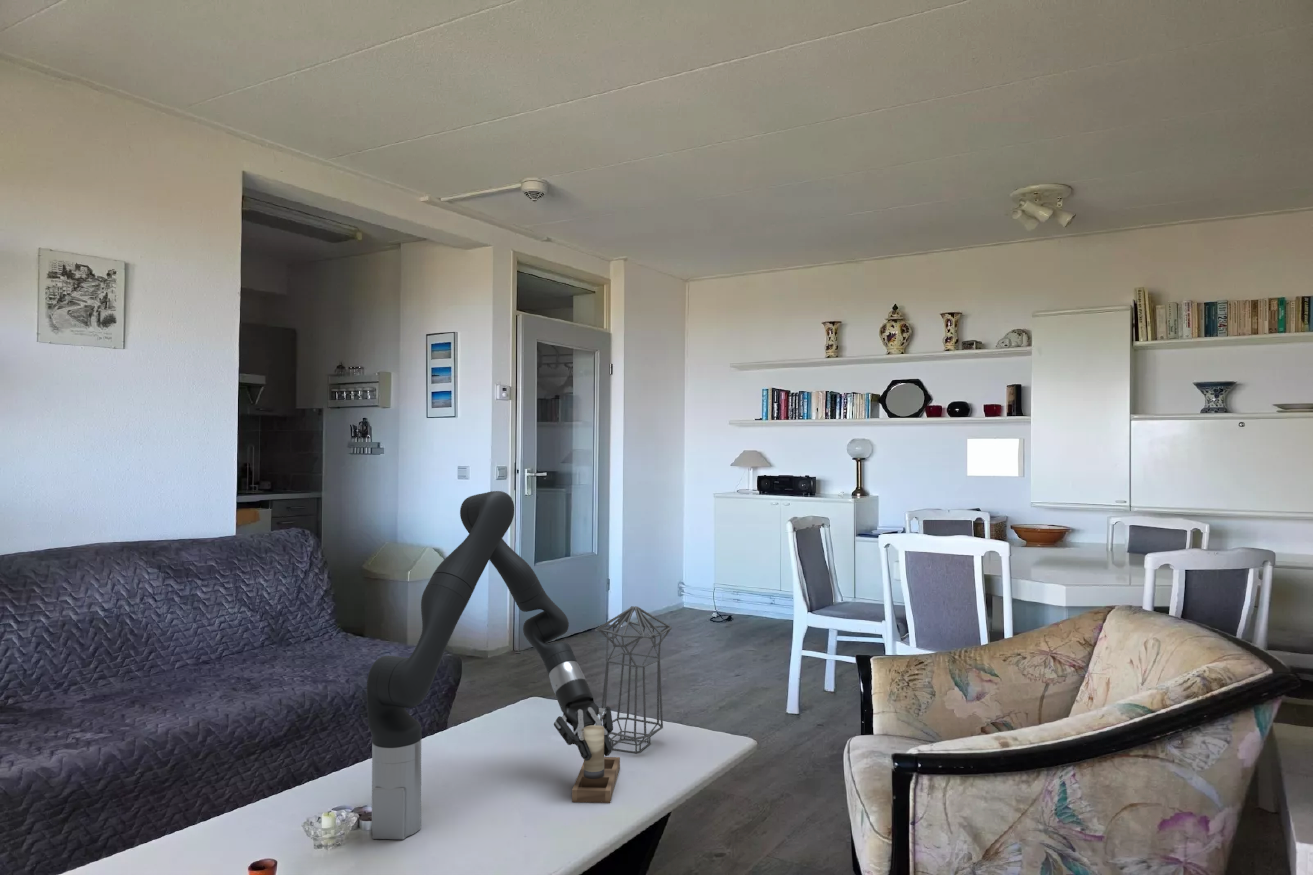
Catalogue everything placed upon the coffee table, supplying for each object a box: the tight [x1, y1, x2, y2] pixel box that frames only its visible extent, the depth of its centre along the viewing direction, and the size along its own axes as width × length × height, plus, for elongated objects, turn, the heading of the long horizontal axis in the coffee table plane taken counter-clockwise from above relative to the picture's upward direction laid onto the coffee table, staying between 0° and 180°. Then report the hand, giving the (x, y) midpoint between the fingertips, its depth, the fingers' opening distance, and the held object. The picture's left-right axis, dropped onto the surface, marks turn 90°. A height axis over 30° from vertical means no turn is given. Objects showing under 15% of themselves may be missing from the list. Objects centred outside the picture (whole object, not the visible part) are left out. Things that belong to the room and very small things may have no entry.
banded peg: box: [583, 724, 605, 779], centre depth 184 cm, size 4×4×10 cm
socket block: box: [571, 756, 621, 804], centre depth 189 cm, size 20×8×2 cm, turn 177°
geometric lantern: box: [594, 606, 673, 754], centre depth 214 cm, size 16×16×35 cm
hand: (598, 756), depth 182 cm, fingers closed on banded peg, 4 cm apart
